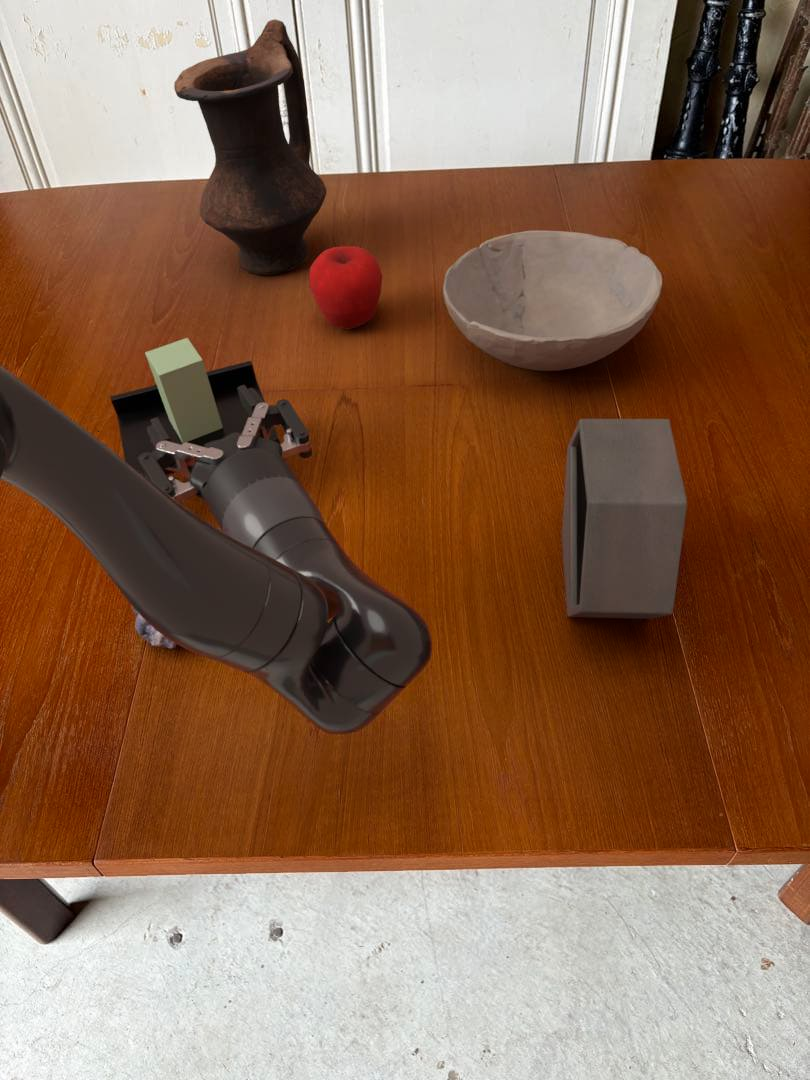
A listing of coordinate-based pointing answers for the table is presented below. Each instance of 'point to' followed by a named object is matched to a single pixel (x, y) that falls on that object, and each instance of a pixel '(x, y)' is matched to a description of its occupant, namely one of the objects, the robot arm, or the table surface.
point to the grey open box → (622, 519)
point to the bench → (148, 405)
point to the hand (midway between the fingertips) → (199, 409)
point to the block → (184, 389)
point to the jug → (257, 151)
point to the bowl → (551, 297)
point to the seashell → (151, 633)
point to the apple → (346, 285)
